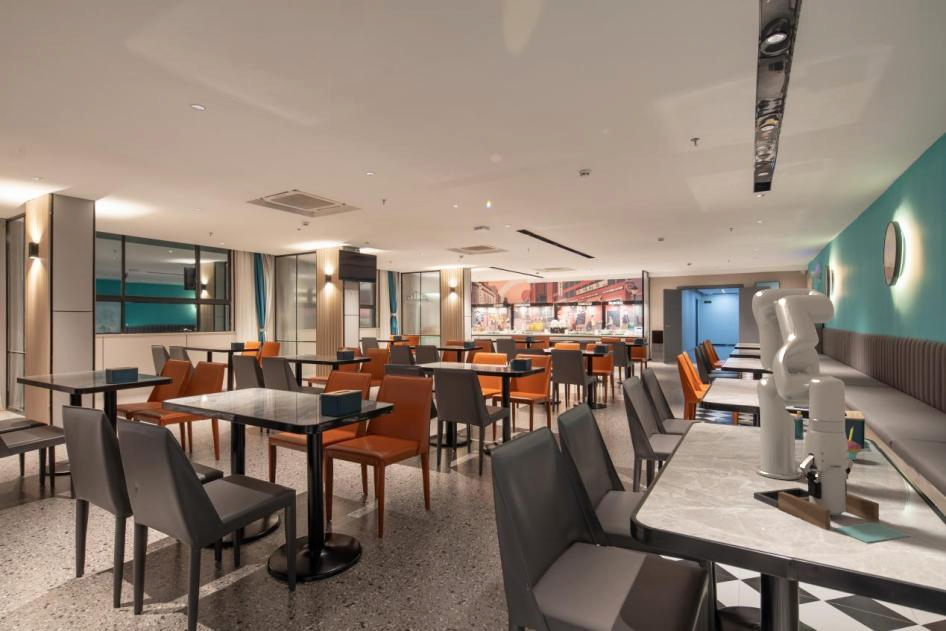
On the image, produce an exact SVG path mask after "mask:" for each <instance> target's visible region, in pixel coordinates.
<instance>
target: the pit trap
mask: <svg viewBox="0 0 946 631" xmlns="http://www.w3.org/2000/svg"><path fill="white" fill-rule="evenodd" d="M778 492H785V493H787V494H790V495H793V496H795V497H798V498H800V499H803V500H806V501H808V502H809V495H808V489H804V488H801V487H794V488H793V487H792V488H784V489H782V488H781V489H776V490H767V491H765V490H764V491H757V492H753V499H754V500H757V501H760V502H762V503H765V504H767V505H770V506H772V507H774V508H776V509H777V508H778Z"/></svg>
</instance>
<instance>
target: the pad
mask: <svg viewBox="0 0 946 631" xmlns="http://www.w3.org/2000/svg"><path fill="white" fill-rule="evenodd" d="M833 530H834V531H837V532H839V533H841V534H844V535H846V536H847V537H848V536H849V537H850V538H854V539H856V540H858V541H859V542H860V541H861V542H863V543H866V544H871V543H876V542H883V541H889V540H895V539H903V538H907V537H910V535H909V534H907V533H905V532H902V531H899V530H897V529H894V528H892V527H889V526H886V525H883V524H880V523H879V522H870V523H868V522H867V523H862V524H853V525H848V526H840V527H834V528H833Z"/></svg>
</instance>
